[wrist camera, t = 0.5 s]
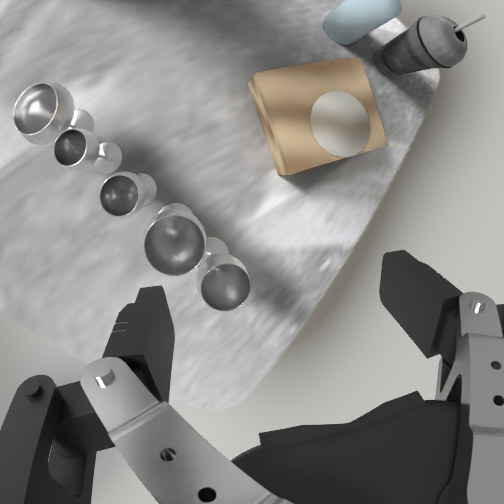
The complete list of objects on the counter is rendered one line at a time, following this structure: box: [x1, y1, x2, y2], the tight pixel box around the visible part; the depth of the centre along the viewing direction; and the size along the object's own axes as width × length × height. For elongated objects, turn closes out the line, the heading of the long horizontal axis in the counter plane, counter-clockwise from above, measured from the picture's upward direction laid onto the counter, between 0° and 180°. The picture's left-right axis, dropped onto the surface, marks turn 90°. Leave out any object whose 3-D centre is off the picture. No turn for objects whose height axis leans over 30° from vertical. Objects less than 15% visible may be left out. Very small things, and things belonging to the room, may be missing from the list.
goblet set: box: [13, 82, 251, 311], centre depth 27 cm, size 28×6×13 cm, turn 45°
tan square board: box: [248, 57, 388, 175], centre depth 34 cm, size 12×14×4 cm
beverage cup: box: [374, 14, 485, 76], centre depth 27 cm, size 7×7×20 cm
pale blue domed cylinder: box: [323, 0, 402, 45], centre depth 29 cm, size 5×5×11 cm
